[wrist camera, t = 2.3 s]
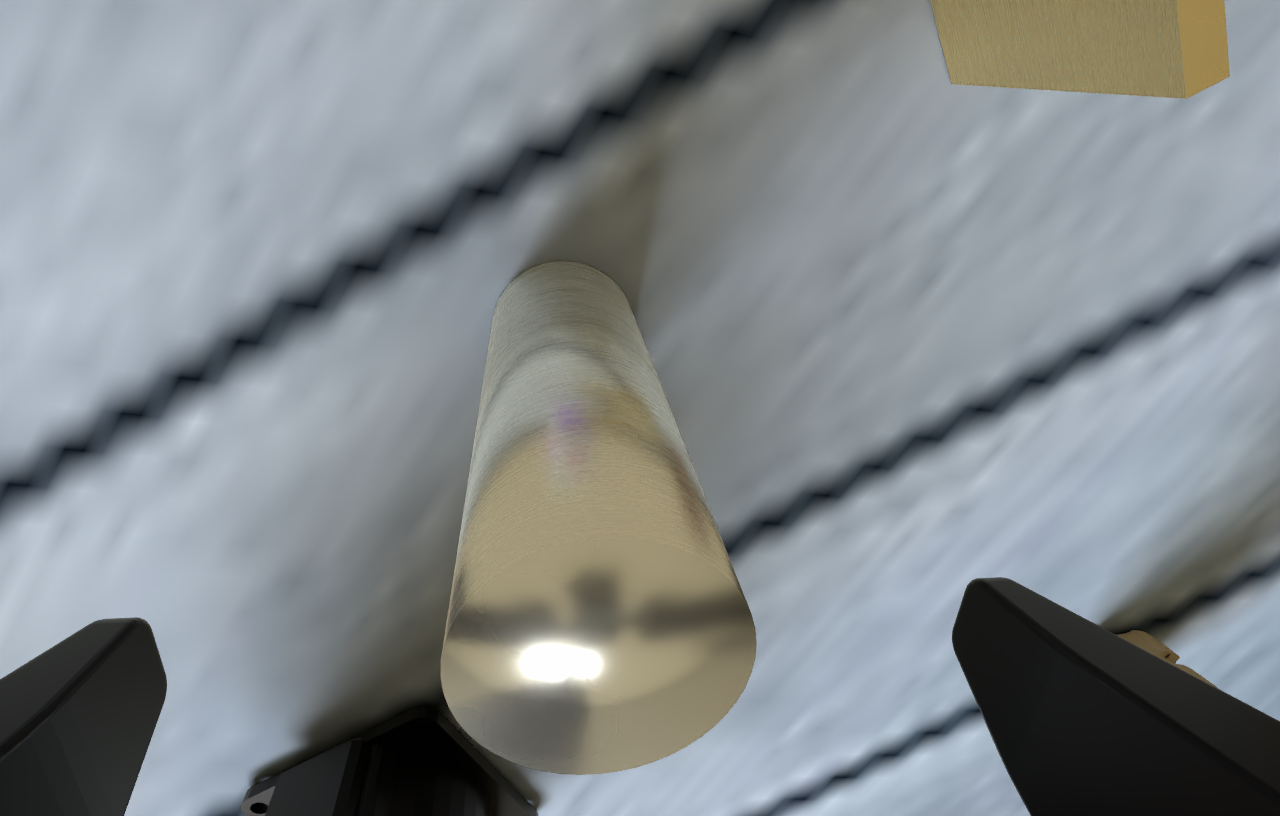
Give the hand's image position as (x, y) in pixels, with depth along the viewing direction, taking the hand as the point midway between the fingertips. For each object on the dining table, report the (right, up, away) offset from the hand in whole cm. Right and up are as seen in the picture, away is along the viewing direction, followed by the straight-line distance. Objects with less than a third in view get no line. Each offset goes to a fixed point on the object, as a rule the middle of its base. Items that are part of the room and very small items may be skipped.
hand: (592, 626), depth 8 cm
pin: (-1, +4, +8) cm, 9 cm away
